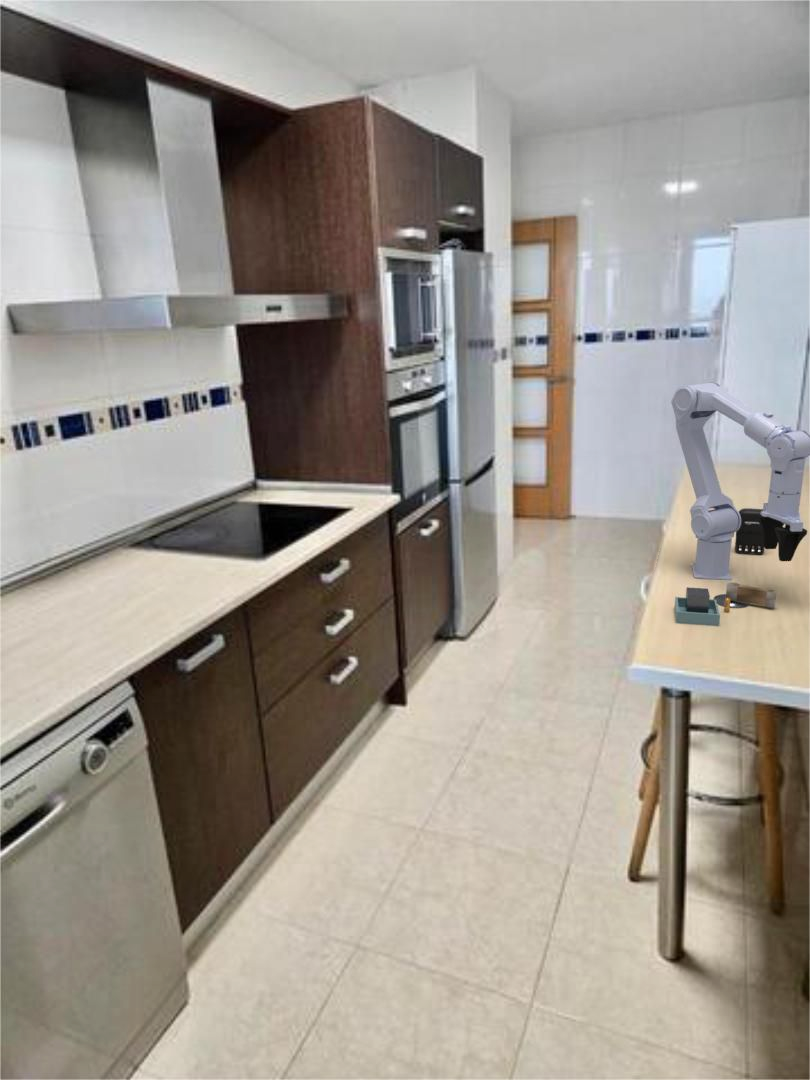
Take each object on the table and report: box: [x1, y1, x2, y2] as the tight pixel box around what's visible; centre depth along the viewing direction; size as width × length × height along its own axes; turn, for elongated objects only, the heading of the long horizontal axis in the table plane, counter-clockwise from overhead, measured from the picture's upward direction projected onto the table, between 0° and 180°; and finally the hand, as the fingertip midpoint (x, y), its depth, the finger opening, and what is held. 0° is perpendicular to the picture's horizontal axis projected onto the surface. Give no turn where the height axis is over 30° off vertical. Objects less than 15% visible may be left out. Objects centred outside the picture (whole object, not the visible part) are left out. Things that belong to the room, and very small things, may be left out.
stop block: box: [685, 587, 711, 613], centre depth 140 cm, size 4×4×5 cm
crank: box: [725, 582, 777, 608], centre depth 143 cm, size 9×2×3 cm, turn 53°
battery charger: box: [734, 507, 765, 556], centre depth 172 cm, size 7×4×11 cm, turn 67°
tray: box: [674, 596, 721, 627], centre depth 140 cm, size 8×8×2 cm
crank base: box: [713, 593, 751, 614], centre depth 145 cm, size 10×7×3 cm
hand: (777, 554), depth 145 cm, fingers open, 7 cm apart
